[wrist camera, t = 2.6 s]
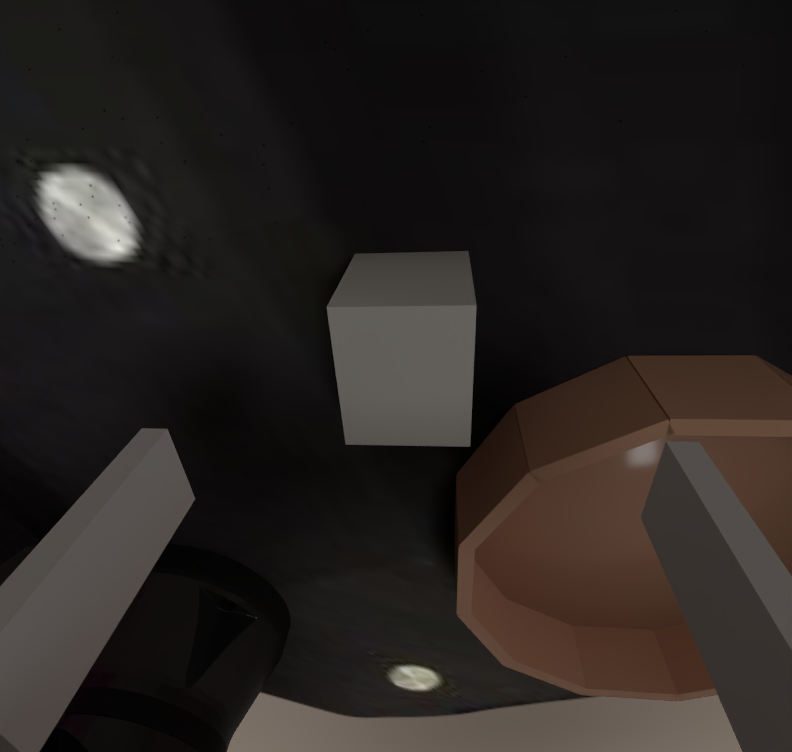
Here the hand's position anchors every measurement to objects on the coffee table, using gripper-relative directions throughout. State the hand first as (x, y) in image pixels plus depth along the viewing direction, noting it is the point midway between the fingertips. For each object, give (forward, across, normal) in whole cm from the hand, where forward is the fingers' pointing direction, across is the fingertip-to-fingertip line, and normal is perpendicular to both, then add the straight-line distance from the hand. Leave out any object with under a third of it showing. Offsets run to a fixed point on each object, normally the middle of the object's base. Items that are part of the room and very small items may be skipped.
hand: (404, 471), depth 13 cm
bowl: (+11, +12, -13) cm, 21 cm away
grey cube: (+11, 0, 0) cm, 11 cm away
